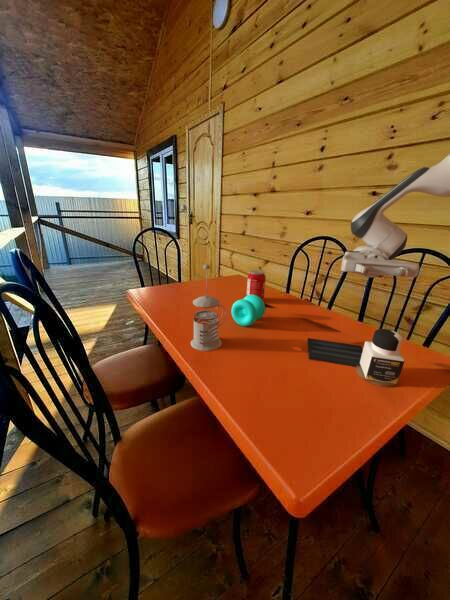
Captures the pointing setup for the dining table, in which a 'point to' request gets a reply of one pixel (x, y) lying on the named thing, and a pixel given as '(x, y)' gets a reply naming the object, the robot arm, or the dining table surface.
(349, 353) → the scrub mat
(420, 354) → the dining table surface
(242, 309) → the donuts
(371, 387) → the dining table surface
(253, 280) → the soda can
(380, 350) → the medicine bottle
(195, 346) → the french press
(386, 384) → the coaster
